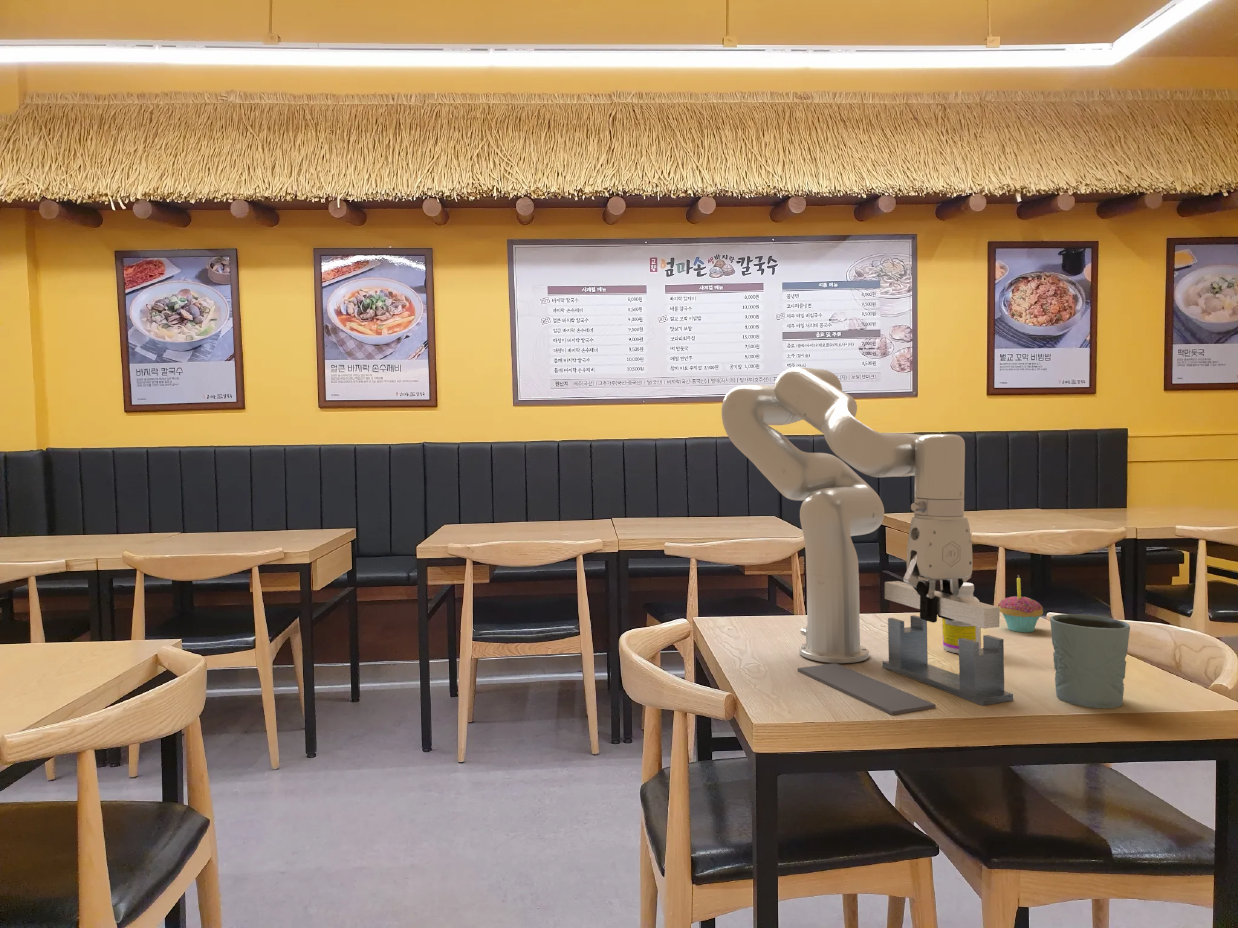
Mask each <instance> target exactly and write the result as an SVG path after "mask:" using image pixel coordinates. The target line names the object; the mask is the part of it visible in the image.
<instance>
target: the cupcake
mask: <svg viewBox="0 0 1238 928" xmlns="http://www.w3.org/2000/svg"><path fill="white" fill-rule="evenodd" d="M1021 588H1022V585H1021V578H1020V575H1019V574H1017V578H1016V590H1017V591H1016V592H1017V593H1016V594H1017V595H1015V596H1009V597H1005V598H1003V599H1001V601H1000V602H999V603H997V607H1000V614H1002V615H1003V618H1004V620H1005V623H1006V625H1007V628H1008V629H1009V630H1010V631H1013V632H1017V633H1033V632H1034V631H1035V629H1036V625H1037V624H1038V620H1039V619H1040V617H1041V616H1043V613H1044V610H1043V609H1044V606H1042V604H1040V602H1038V601H1037V600H1035V599H1032V598H1030V597H1027V596H1022V590H1021Z"/></svg>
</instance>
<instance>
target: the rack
mask: <svg viewBox="0 0 1238 928" xmlns="http://www.w3.org/2000/svg"><path fill="white" fill-rule="evenodd" d="M887 630H888V631H887V636H888V638H887V639H888V660H884V661H882V668H883V669H886V670H889V671H892V672H894V673H896V674H900V675H902V676H904V677H907V678H910V679H913V680H915V681H918V682H920V683H923V684H926V685H928V686H931V687H933V688H935V689H937V690H941V691H943V692H946V693H948V694H949V693H950V694H951V695H953V696H957V697H958V698H962V699H965V700H967V701H969V702H973V703H975V704H977V705H980V706H988V705H995V704H1000V703H1006V702H1012V701H1014V694H1013V693H1011V692H1009V691H1006V690H1005V660H1004V659H1005V658H1004V657H1005V656H1004V655H1005V654H1004V652H1005V650H1004V649H1005V645H1004V638H1001V637H997V636H994V635H993V636H992V635H991V634H984V635H982V636H983V637H982V639H983V640H982V641H983V644H982V645H983V646H982V647H981V649H979V642H976V641H972V640H969V639H965V638H960V639H959V654H958V661H959V662H958V665H959V673H954V672H951V671H948V670H946V669H943V668H940V667H937V666H935V665H931V664H928V662H929V661H928V657H929V656H928V621H926V620H923V619H921V618H920V615H913V614H912V615H910V626H908V627H905V620H901V619H899V618H895V617H888V618H887Z"/></svg>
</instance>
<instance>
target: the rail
mask: <svg viewBox="0 0 1238 928" xmlns="http://www.w3.org/2000/svg"><path fill="white" fill-rule="evenodd" d="M933 598H937V616H938V615H940V616H944V617H947V618H950V619H954V620H957V621H960V622H964V623H967V624H970V625H974V626H977V627H980V628H981V629H994V628H1000V614H1001V612H1000V607H998V606H996V605H992V604H988V603H984V602H982V601H981V602H980V601H979V602H977V601H973V600H970V599H966V598H962V597H958V596H954V595H950V594H946V593H943V592H941V591H939V590H935V594H934V597H933ZM884 600H888V601H891V602H894V603H897V604H901V605H904V606H908V607H911V608H914V609H917V610H920V595H917V591H916V590H915V589H914V588H913V587H912V586H911V585H909V584H907V583H906V582H904V581H900V580H893V581H884Z"/></svg>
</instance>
